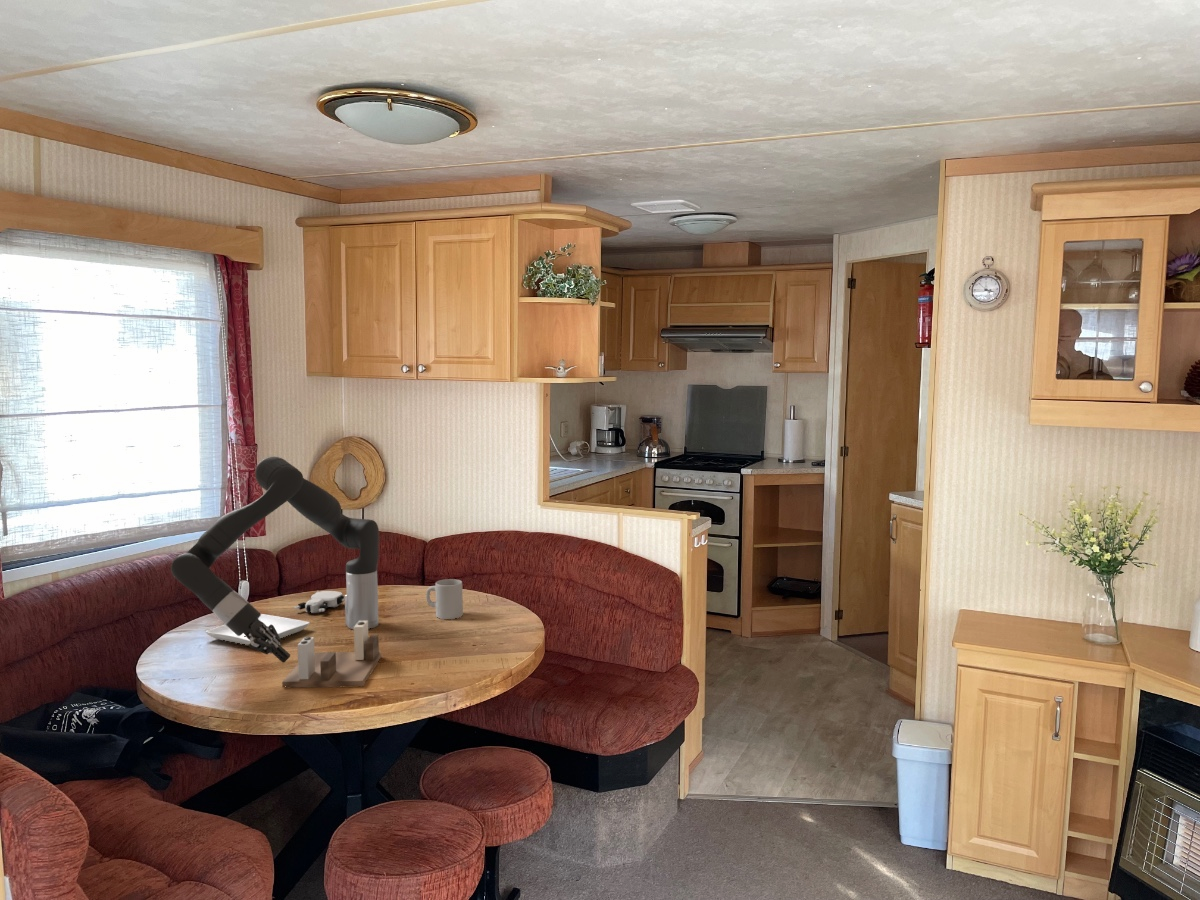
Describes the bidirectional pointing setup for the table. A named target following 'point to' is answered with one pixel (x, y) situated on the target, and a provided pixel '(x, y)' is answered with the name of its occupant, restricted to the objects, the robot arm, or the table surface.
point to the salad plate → (280, 624)
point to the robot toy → (322, 601)
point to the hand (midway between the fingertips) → (287, 659)
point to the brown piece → (338, 668)
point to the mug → (447, 598)
